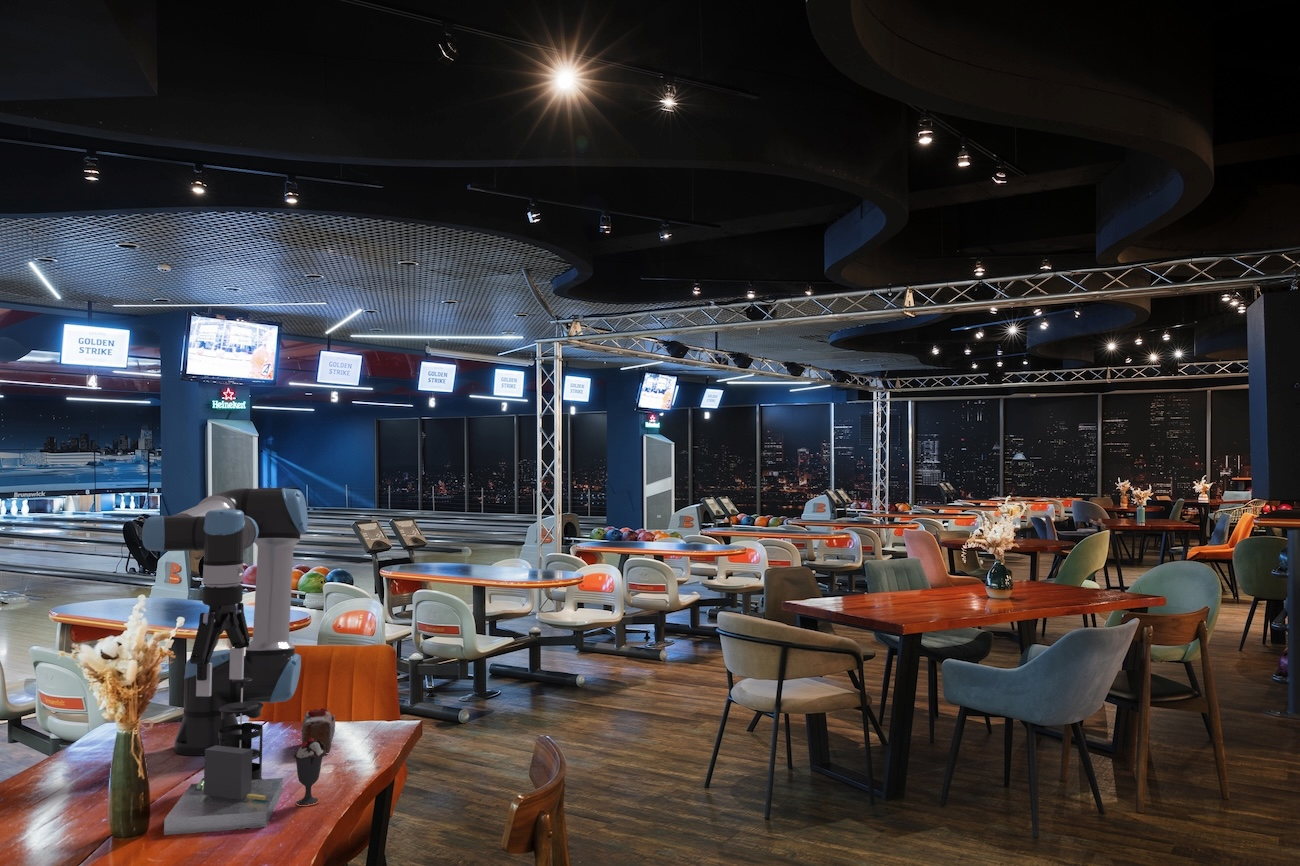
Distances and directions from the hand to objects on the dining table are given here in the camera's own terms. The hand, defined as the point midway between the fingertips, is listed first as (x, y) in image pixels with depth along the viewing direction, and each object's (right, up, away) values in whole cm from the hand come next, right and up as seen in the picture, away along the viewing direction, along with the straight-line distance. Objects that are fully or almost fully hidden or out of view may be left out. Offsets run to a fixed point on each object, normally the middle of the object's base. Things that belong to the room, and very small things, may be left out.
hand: (220, 687), depth 189 cm
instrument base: (+4, -24, -5) cm, 25 cm away
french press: (-2, -25, +12) cm, 28 cm away
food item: (+6, -26, +39) cm, 47 cm away
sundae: (+18, -25, +1) cm, 30 cm away
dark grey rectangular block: (+6, -20, -5) cm, 22 cm away
